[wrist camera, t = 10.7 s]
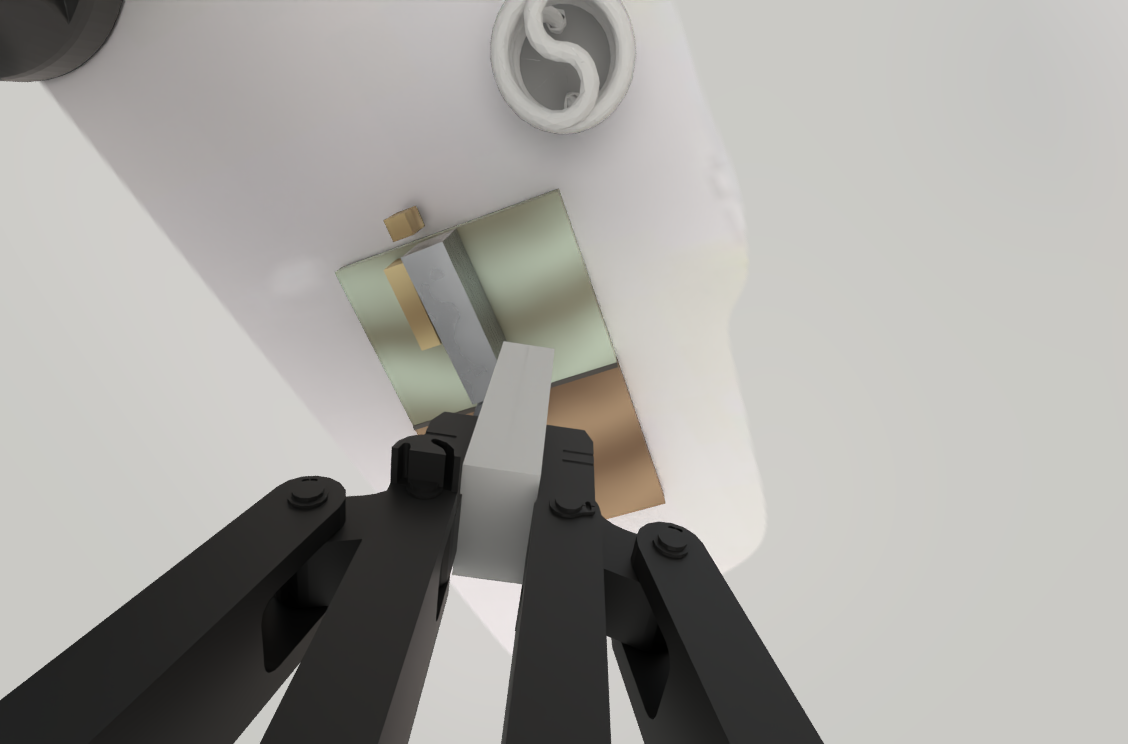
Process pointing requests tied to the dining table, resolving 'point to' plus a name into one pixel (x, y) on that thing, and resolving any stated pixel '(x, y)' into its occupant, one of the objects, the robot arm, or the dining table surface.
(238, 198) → the dining table surface
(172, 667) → the robot arm
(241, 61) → the dining table surface
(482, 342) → the bar
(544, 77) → the light bulb
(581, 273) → the door board
